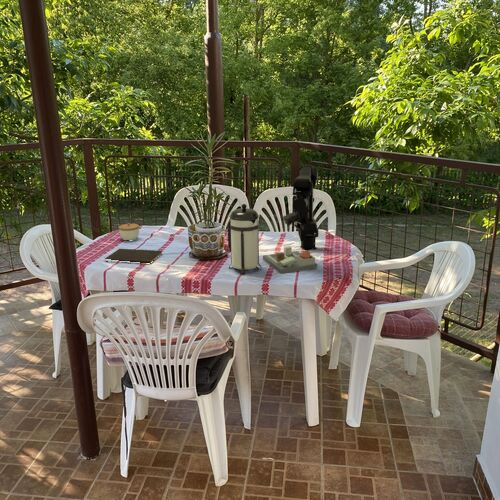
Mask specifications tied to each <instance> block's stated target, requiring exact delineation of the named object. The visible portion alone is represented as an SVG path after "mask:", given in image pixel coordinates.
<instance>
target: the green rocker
mask: <svg viewBox="0 0 500 500" xmlns="http://www.w3.org/2000/svg"><path fill="white" fill-rule="evenodd" d="M294 261H295V258H293V257H292V256H291V257H289V258H286V259H284V260H282V261H280V263H281V264H282V265H283V266H284V265H286V264H289V263H291V262H294Z"/></svg>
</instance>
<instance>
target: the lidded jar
mask: <svg viewBox="0 0 500 500" xmlns="http://www.w3.org/2000/svg"><path fill="white" fill-rule="evenodd" d="M118 231H119V236H120V238H121V239H122V240H123V241H124V240H134V241H136V240H135V239H137V238H138V237H139V235H140V234H139V233H140V225H139V224H137V223H130V222H127V223H125V224H120V225H119V226H118Z"/></svg>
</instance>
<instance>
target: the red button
mask: <svg viewBox="0 0 500 500" xmlns="http://www.w3.org/2000/svg"><path fill="white" fill-rule="evenodd" d="M300 253H301V258H302V259H307V258H310V255H311V251H310V250H302V251H301V252H300Z"/></svg>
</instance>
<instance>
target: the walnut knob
mask: <svg viewBox="0 0 500 500" xmlns="http://www.w3.org/2000/svg"><path fill="white" fill-rule="evenodd" d="M283 252H284V251H283ZM283 252H282V251H281V252H275V253H276V261H277V262H280V261H282V260H284V253H283Z"/></svg>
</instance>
